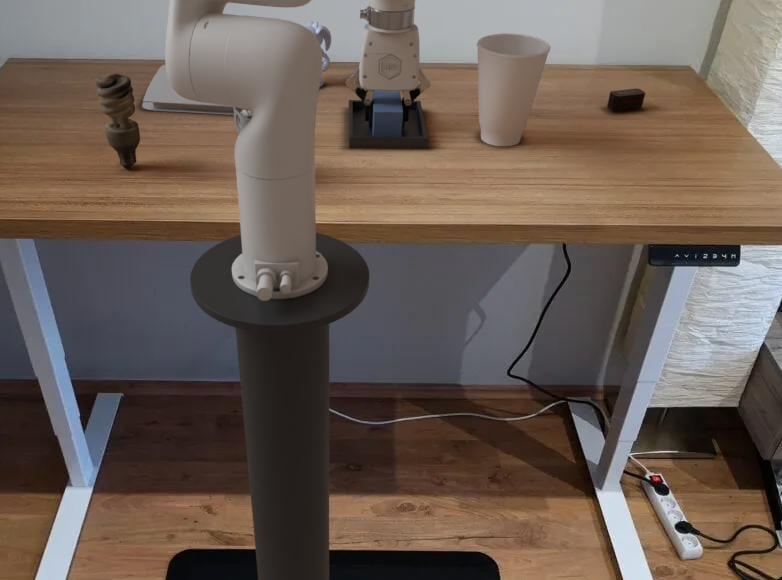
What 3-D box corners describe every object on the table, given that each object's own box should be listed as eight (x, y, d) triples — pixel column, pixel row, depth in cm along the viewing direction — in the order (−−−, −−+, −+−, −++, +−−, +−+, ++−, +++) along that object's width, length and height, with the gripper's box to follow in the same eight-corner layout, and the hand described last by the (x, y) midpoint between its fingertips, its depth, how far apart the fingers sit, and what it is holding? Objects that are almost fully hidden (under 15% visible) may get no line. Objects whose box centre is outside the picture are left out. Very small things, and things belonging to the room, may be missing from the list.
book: (161, 81, 162) (159, 61, 160) (273, 87, 160) (272, 67, 158) (137, 109, 151) (134, 88, 148) (257, 116, 148) (256, 95, 146)
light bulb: (103, 170, 131) (85, 76, 121) (124, 157, 134) (108, 65, 125) (131, 177, 129) (116, 82, 119) (152, 163, 133) (138, 71, 123)
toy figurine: (289, 83, 162) (287, 20, 154) (314, 76, 165) (313, 14, 157) (309, 92, 158) (308, 28, 150) (335, 86, 161) (335, 22, 153)
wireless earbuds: (646, 109, 152) (650, 92, 150) (613, 113, 150) (617, 96, 148) (632, 101, 155) (636, 84, 153) (599, 105, 154) (603, 88, 152)
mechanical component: (256, 191, 125) (252, 129, 119) (235, 165, 132) (230, 105, 126) (274, 187, 126) (271, 125, 120) (252, 162, 133) (248, 102, 127)
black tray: (427, 148, 138) (427, 138, 137) (349, 148, 138) (349, 137, 137) (419, 110, 151) (420, 100, 150) (348, 109, 151) (348, 99, 150)
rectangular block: (401, 137, 140) (403, 112, 138) (373, 137, 140) (374, 111, 138) (398, 115, 148) (399, 91, 145) (371, 115, 148) (372, 90, 145)
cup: (487, 156, 135) (500, 59, 125) (454, 130, 144) (464, 37, 134) (547, 146, 139) (565, 50, 129) (511, 121, 147) (525, 30, 137)
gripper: (339, 24, 130) (338, 132, 141) (445, 24, 130) (435, 133, 141) (339, 10, 135) (338, 116, 147) (440, 11, 135) (431, 117, 147)
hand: (386, 123), depth 144 cm, fingers closed on rectangular block, 5 cm apart
